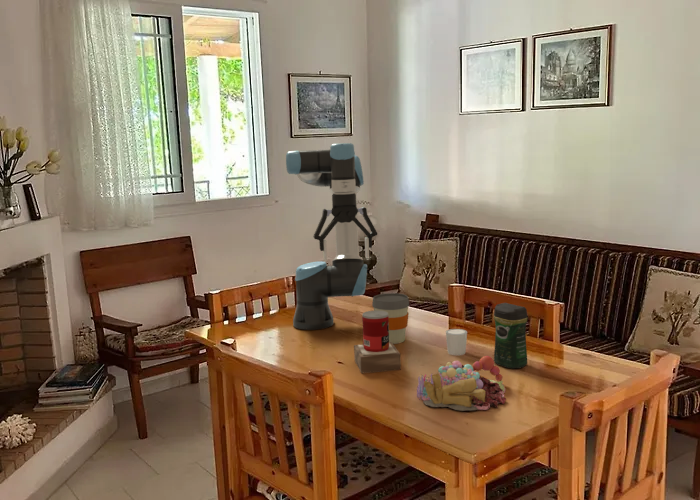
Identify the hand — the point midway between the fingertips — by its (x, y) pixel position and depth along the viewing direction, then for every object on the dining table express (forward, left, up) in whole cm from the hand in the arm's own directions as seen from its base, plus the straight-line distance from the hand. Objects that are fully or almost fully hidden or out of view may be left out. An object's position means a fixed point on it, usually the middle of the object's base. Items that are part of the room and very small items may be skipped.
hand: (346, 259), depth 219 cm
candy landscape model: (+44, +23, -31) cm, 59 cm away
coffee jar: (+25, +45, -31) cm, 60 cm away
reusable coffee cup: (-9, +16, -31) cm, 36 cm away
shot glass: (+10, +33, -31) cm, 46 cm away
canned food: (+15, +6, -26) cm, 30 cm away
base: (+15, +6, -31) cm, 35 cm away
